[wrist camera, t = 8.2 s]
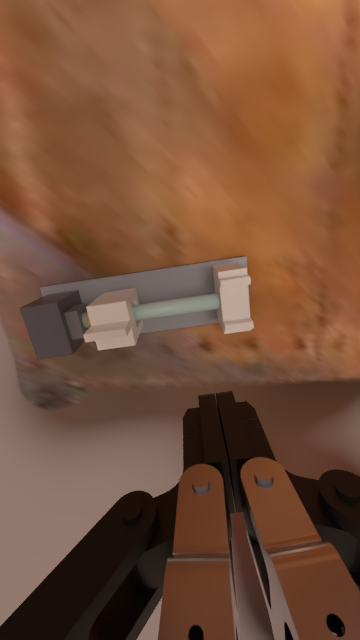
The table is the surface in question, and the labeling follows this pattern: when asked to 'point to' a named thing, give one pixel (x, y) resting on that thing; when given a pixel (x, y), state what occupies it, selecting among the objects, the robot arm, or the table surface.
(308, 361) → the table surface
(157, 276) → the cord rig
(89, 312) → the cream stepped block
